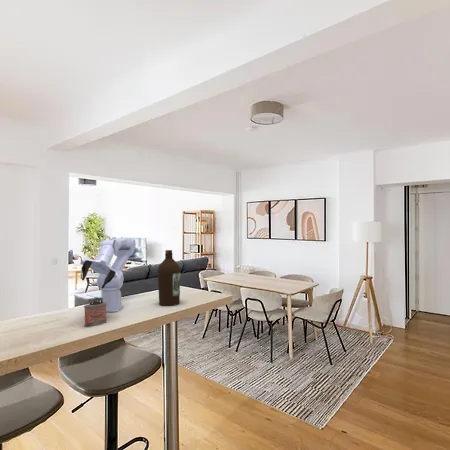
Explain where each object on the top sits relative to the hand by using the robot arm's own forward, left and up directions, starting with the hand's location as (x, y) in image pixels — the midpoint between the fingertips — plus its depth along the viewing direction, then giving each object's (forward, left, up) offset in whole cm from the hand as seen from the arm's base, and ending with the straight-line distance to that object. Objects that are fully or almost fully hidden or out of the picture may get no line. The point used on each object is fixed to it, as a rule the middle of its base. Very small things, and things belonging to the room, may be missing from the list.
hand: (93, 282), depth 119 cm
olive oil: (-30, +23, -16) cm, 41 cm away
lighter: (+1, +1, -16) cm, 16 cm away
